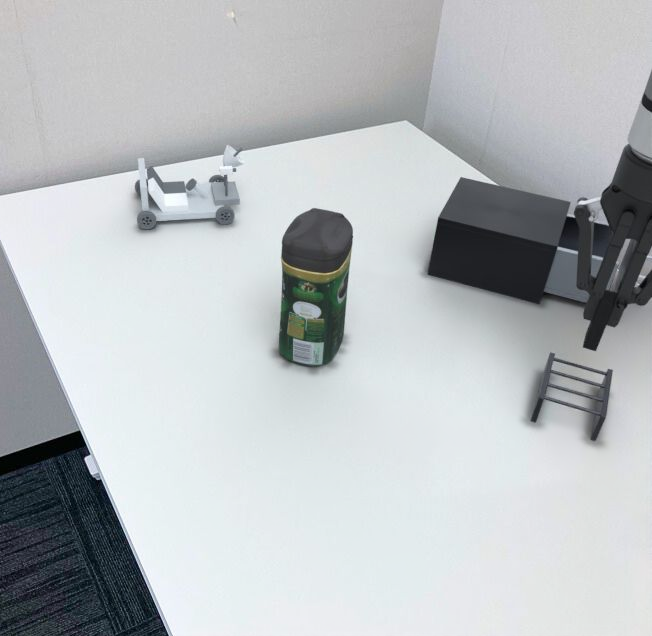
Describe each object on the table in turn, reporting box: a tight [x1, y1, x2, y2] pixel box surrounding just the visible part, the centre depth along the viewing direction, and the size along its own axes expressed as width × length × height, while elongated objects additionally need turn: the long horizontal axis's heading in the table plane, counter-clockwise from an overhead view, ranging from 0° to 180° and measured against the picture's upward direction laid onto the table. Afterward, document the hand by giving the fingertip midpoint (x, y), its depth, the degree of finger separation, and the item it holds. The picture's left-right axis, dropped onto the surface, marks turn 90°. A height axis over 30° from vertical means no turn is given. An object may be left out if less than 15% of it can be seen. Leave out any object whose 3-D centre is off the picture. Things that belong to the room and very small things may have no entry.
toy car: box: [134, 144, 245, 230], centre depth 121 cm, size 18×10×12 cm
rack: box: [530, 351, 614, 442], centre depth 91 cm, size 8×9×4 cm
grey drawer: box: [543, 212, 652, 304], centre depth 108 cm, size 20×13×8 cm, turn 67°
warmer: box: [427, 176, 571, 305], centre depth 112 cm, size 17×14×10 cm
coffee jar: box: [278, 207, 354, 367], centre depth 93 cm, size 10×8×19 cm
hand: (590, 342), depth 86 cm, fingers closed
